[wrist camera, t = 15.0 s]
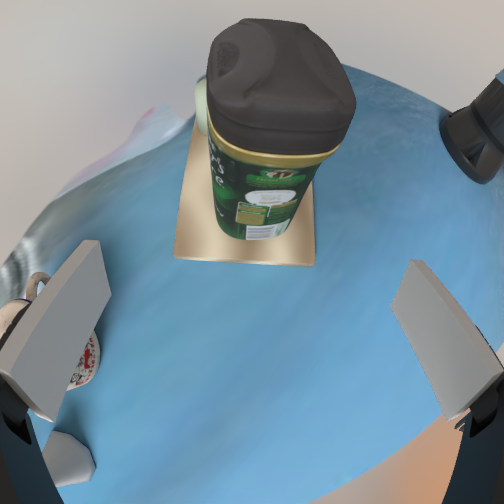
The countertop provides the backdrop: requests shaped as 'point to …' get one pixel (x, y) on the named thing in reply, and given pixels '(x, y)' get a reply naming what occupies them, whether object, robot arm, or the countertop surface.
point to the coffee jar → (271, 121)
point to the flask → (67, 459)
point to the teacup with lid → (92, 350)
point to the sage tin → (201, 107)
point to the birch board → (219, 243)
